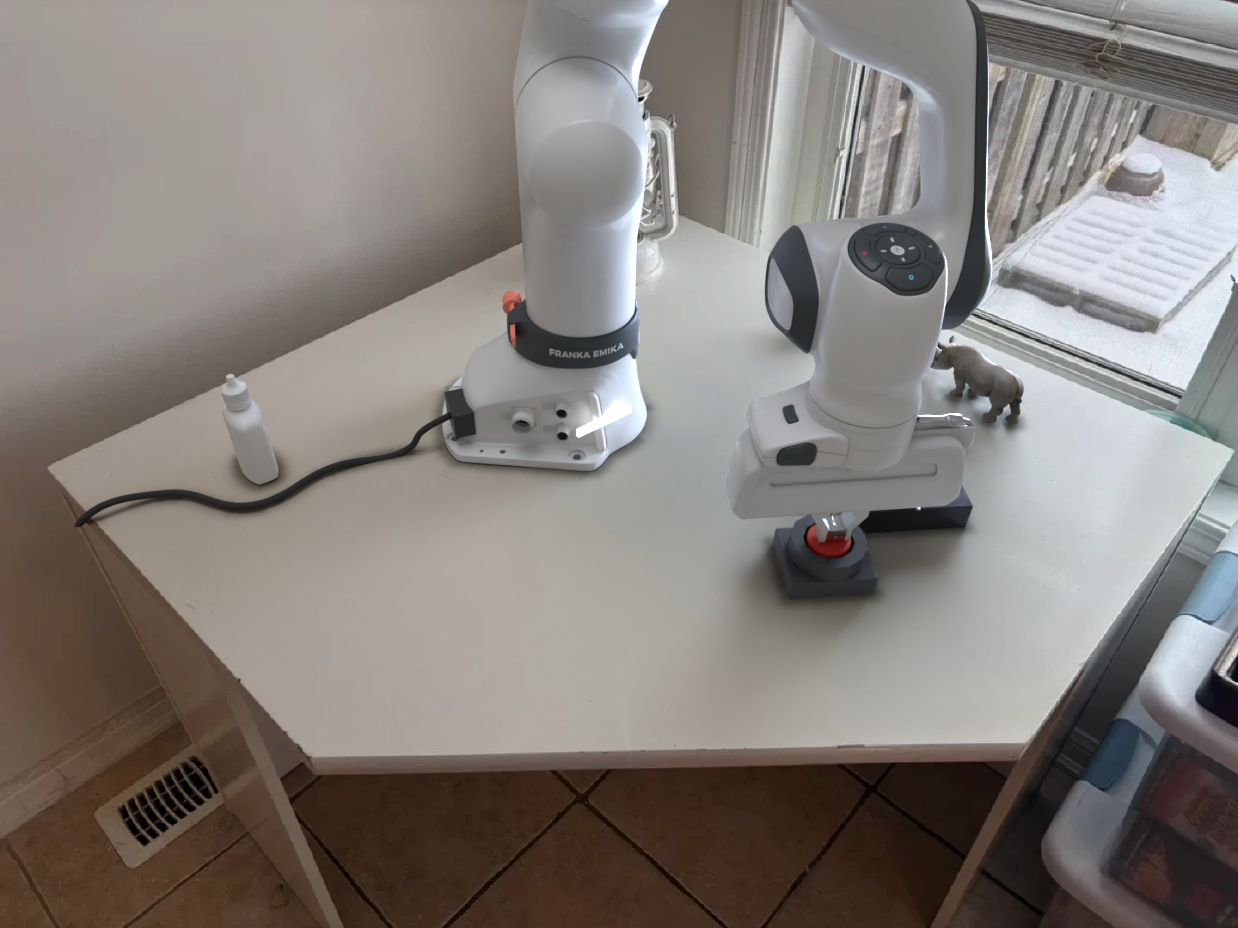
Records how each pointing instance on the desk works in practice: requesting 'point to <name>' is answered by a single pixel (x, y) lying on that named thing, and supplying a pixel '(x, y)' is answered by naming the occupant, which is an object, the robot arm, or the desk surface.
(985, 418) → the rhino figurine
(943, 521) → the hob panel
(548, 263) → the robot arm
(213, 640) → the desk surface
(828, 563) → the igniter
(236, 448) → the eye dropper bottle
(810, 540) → the button
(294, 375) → the desk surface
